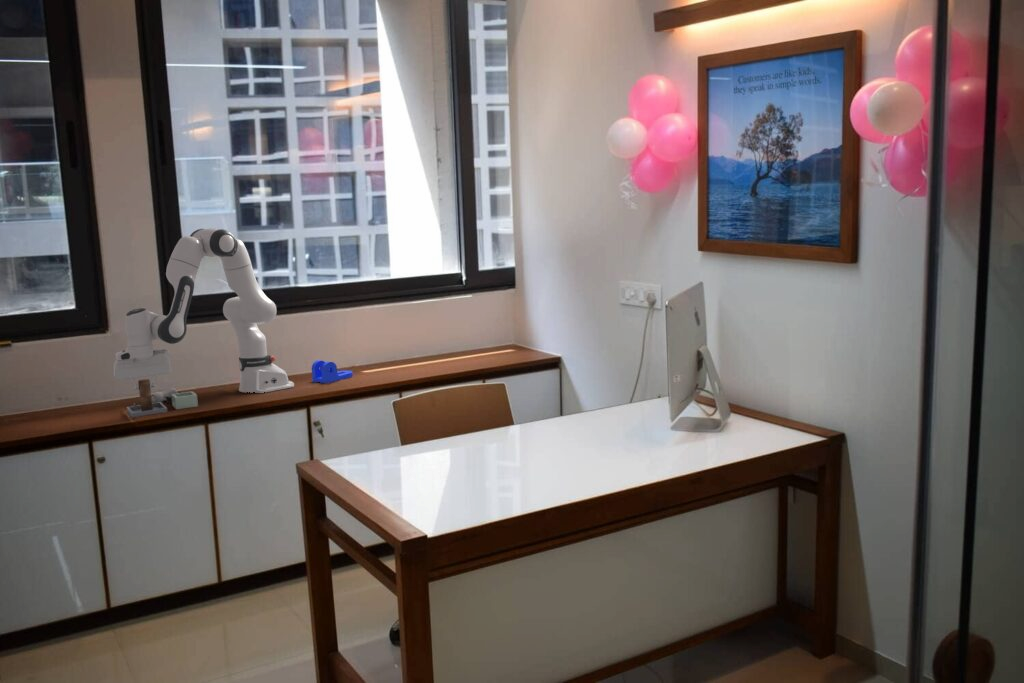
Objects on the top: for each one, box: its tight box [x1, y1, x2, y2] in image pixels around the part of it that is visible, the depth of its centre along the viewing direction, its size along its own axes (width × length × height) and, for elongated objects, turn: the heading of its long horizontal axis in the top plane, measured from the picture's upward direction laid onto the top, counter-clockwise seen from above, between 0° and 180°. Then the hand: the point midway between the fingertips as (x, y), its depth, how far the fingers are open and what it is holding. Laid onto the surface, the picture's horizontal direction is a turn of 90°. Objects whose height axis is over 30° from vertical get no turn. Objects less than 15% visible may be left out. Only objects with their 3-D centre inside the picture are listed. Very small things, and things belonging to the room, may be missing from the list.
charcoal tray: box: [126, 402, 168, 421], centre depth 352 cm, size 13×13×2 cm
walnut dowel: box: [137, 378, 153, 411], centre depth 351 cm, size 4×4×12 cm
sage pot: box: [171, 390, 199, 410], centre depth 359 cm, size 8×8×6 cm
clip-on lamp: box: [133, 387, 181, 406], centre depth 365 cm, size 12×6×18 cm
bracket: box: [311, 359, 354, 384], centre depth 404 cm, size 18×8×9 cm, turn 142°
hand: (144, 388), depth 351 cm, fingers open, 4 cm apart
